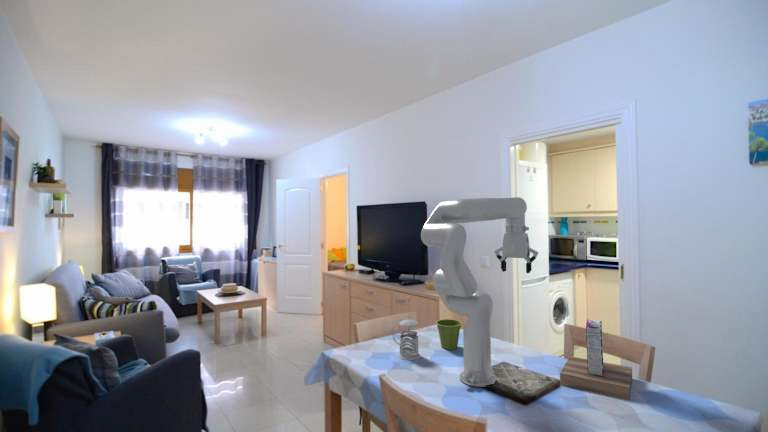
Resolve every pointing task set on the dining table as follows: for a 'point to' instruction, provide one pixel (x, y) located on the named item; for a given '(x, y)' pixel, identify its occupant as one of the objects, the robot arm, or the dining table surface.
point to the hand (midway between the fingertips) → (516, 272)
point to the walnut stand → (598, 378)
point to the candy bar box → (594, 347)
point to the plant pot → (449, 332)
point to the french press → (408, 340)
